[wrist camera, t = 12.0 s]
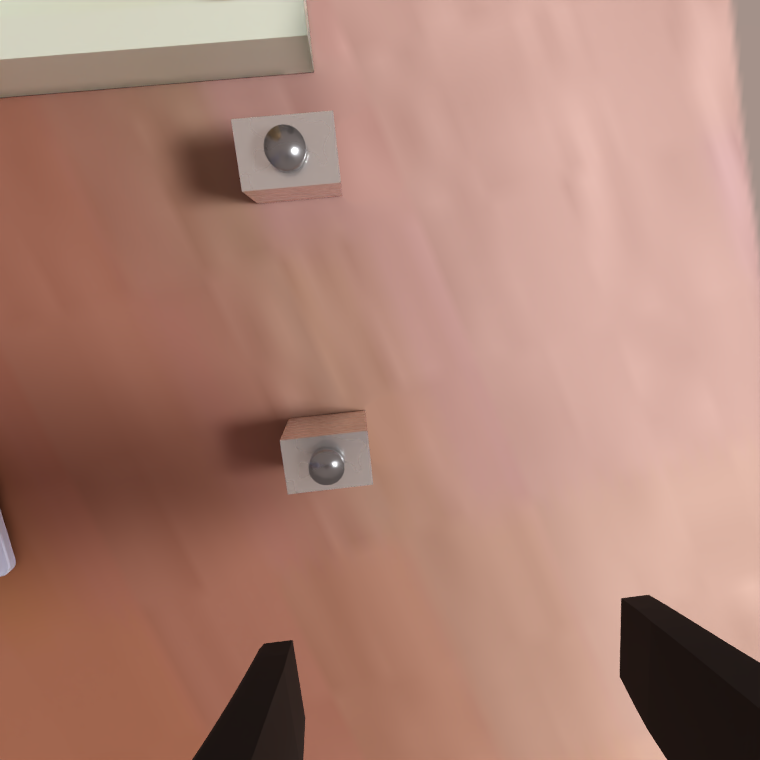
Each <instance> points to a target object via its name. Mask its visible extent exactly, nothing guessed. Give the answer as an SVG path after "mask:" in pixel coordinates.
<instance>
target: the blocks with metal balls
mask: <svg viewBox="0 0 760 760" xmlns="http://www.w3.org/2000/svg"><path fill="white" fill-rule="evenodd" d="M231 123H232V129H233V136H234V142H235V149H236V156H237V162H238V169H239V175H240V182H241V189H242V192H243V193H245V194H246V195H247V196H248V197H250V198H251V199H252V200H254V201H255V202H256V203H258V204H260V203H271V202H282V201H293V200H304V199H315V198H326V197H336V196H342V189H341V180H340V170H339V161H338V152H337V142H336V133H335V124H334V115H333V111H322V112H311V113H299V114H287V115H275V116H264V117H252V118H240V119H231ZM280 446H281V452H282V459H283V466H284V472H285V479H286V485H287V492H288V494H295V493H304V492H312V491H321V490H330V489H338V488H347V487H356V486H364V485H373V479H372V469H371V460H370V450H369V441H368V432H367V422H366V413H365V410H364V411H355V412H346V413H336V414H327V415H318V416H309V417H300V418H291V419H289V420H288V422H287V425H286V427H285V429H284V432H283V434H282V436H281V439H280Z"/></svg>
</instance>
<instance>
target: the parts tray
mask: <svg viewBox="0 0 760 760" xmlns="http://www.w3.org/2000/svg"><path fill="white" fill-rule="evenodd" d="M308 72H314V67H313V58H312V50H311V41H310V32H309V23H308V14H307V5H306V0H0V98H3V97H15V96H28V95H40V94H52V93H64V92H76V91H89V90H101V89H113V88H125V87H137V86H150V85H162V84H174V83H186V82H198V81H211V80H223V79H235V78H247V77H260V76H272V75H284V74H296V73H308Z"/></svg>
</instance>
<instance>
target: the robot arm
mask: <svg viewBox="0 0 760 760" xmlns="http://www.w3.org/2000/svg"><path fill="white" fill-rule="evenodd" d="M15 564H16V560H15V556H14V553H13V550H12V546H11V543H10V540H9V536H8V533H7V530H6V527H5V523H4V520H3V517H2V513H1V510H0V577H1V576H4V575H6V574H7V573H9V572H10V571H11V570H12V569H13V568H14V567H15ZM620 678H621V680H622V682H623V684H624V686H625V688H626V690H627V692H628V694H629V696H630V698H631V699H632V701H633V703H634V705H635V707H636V709H637V711H638V713H639V715H640V716H641V718H642V720H643V722H644V724H645V726H646V728H647V729H648V731H649V732H650V734H651V736H652V737H653V739H654V740H655V742H656V743H657V745H658V746H659V748H660V749H661V751H662V752H663V754H664V755H665V757H666V758H667V760H760V663H759V662H758V661H756V660H754V659H753V658H751V657H749V656H748V655H746V654H745V653H743V652H741V651H740V650H738V649H736V648H735V647H733V646H731V645H730V644H728V643H726V642H725V641H723V640H722V639H720V638H718V637H717V636H715V635H714V634H712V633H710V632H709V631H707V630H705V629H704V628H702V627H701V626H699V625H697V624H696V623H694V622H693V621H691V620H689V619H688V618H686V617H685V616H683V615H681V614H680V613H678V612H677V611H675V610H673V609H672V608H670V607H668V606H667V605H665V604H663V603H662V602H660V601H658V600H657V599H655V598H653V597H651V596H650V595H644V596H636V597H628V598H621V642H620ZM304 732H305V714H304V708H303V702H302V696H301V690H300V683H299V677H298V671H297V665H296V659H295V652H294V646H293V640H290V641H282V642H274V643H266V644H263V646H262V647H261V648H260V649H259V651H258V653H257V655H256V656H255V658H254V660H253V662H252V664H251V665H250V667H249V669H248V671H247V673H246V674H245V676H244V678H243V680H242V681H241V683H240V685H239V686H238V688H237V690H236V691H235V693H234V695H233V697H232V698H231V700H230V702H229V703H228V705H227V707H226V708H225V710H224V711H223V713H222V714H221V716H220V718H219V719H218V721H217V722H216V724H215V726H214V727H213V729H212V730H211V732H210V734H209V735H208V737H207V738H206V740H205V741H204V743H203V744H202V746H201V747H200V749H199V750H198V752H197V753H196V755H195V756H194V758H193V759H192V760H303V753H304Z"/></svg>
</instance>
